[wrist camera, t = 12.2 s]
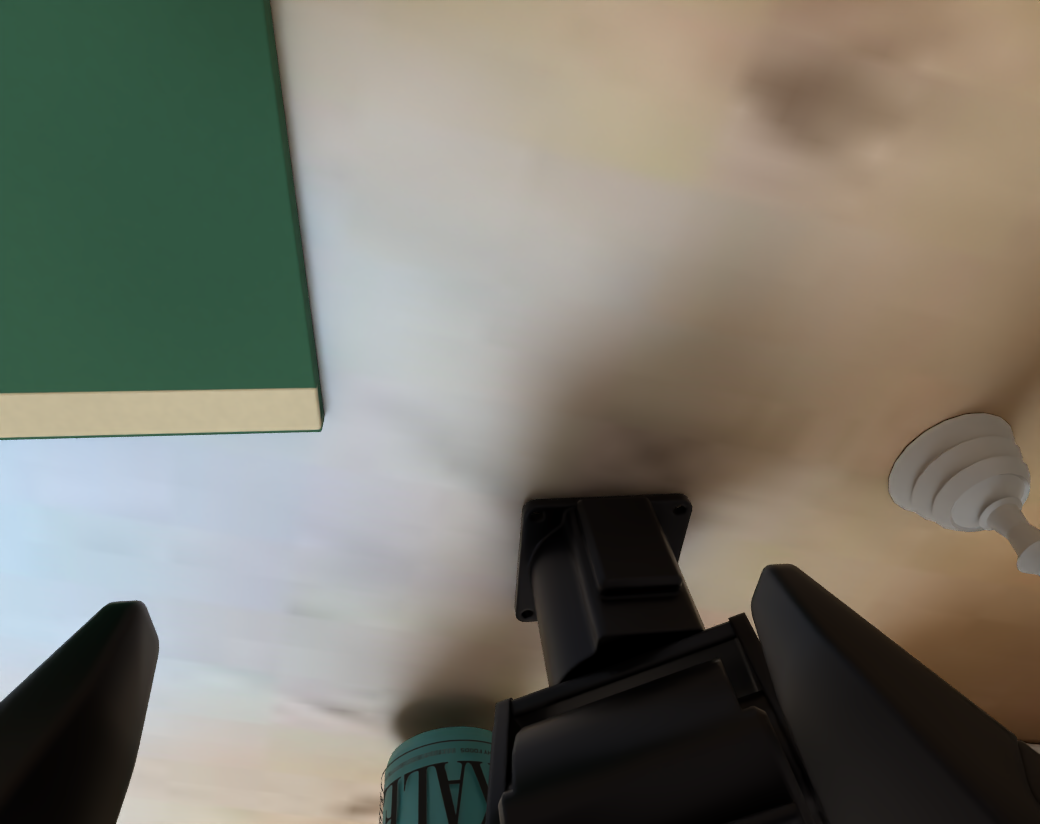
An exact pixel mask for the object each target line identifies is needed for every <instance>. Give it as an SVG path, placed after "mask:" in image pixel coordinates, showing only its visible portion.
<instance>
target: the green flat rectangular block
mask: <svg viewBox="0 0 1040 824" xmlns="http://www.w3.org/2000/svg"><path fill="white" fill-rule="evenodd" d="M323 422H324V411H323V404H322V396H321V388H320V381H319V373H318V365H317V358H316V350H315V343H314V335H313V327H312V320H311V312H310V305H309V297H308V289H307V282H306V274H305V266H304V259H303V251H302V244H301V236H300V228H299V221H298V213H297V205H296V198H295V190H294V183H293V175H292V167H291V160H290V152H289V145H288V137H287V129H286V122H285V114H284V106H283V99H282V91H281V84H280V76H279V68H278V61H277V53H276V45H275V38H274V30H273V23H272V15H271V7H270V0H0V440H18V439H57V438H96V437H134V436H173V435H212V434H251V433H289V432H320V431H322V427H323Z"/></svg>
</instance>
